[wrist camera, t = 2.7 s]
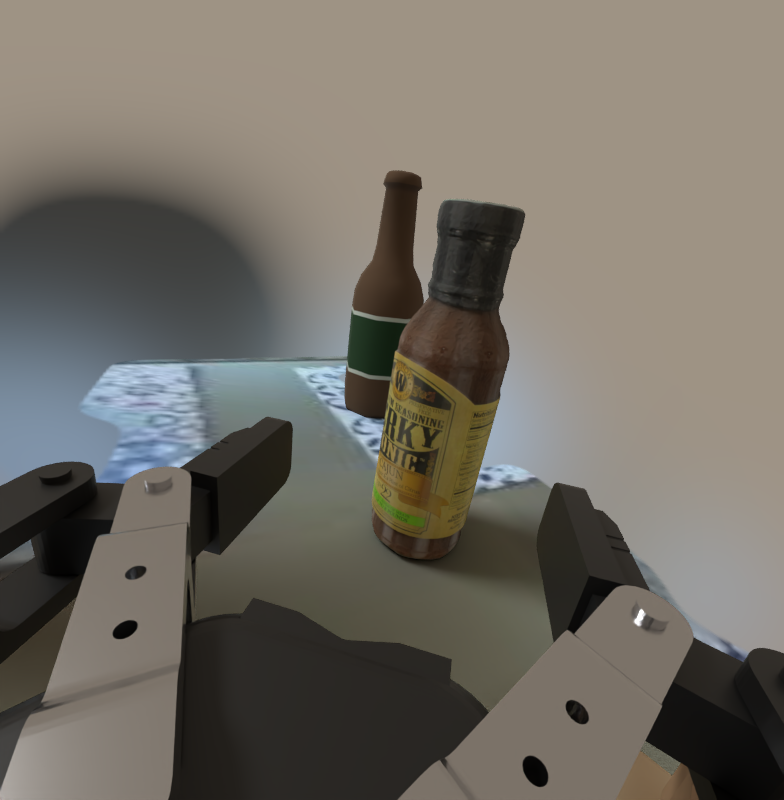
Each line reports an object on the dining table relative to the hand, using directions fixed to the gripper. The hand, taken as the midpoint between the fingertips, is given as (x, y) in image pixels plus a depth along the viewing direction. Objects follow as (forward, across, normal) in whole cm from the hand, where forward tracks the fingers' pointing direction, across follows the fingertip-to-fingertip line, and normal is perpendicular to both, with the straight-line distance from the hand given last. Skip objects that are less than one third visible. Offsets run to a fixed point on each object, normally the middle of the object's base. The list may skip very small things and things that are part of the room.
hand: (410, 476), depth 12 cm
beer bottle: (+31, +8, +11) cm, 34 cm away
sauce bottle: (+11, 0, +11) cm, 16 cm away
